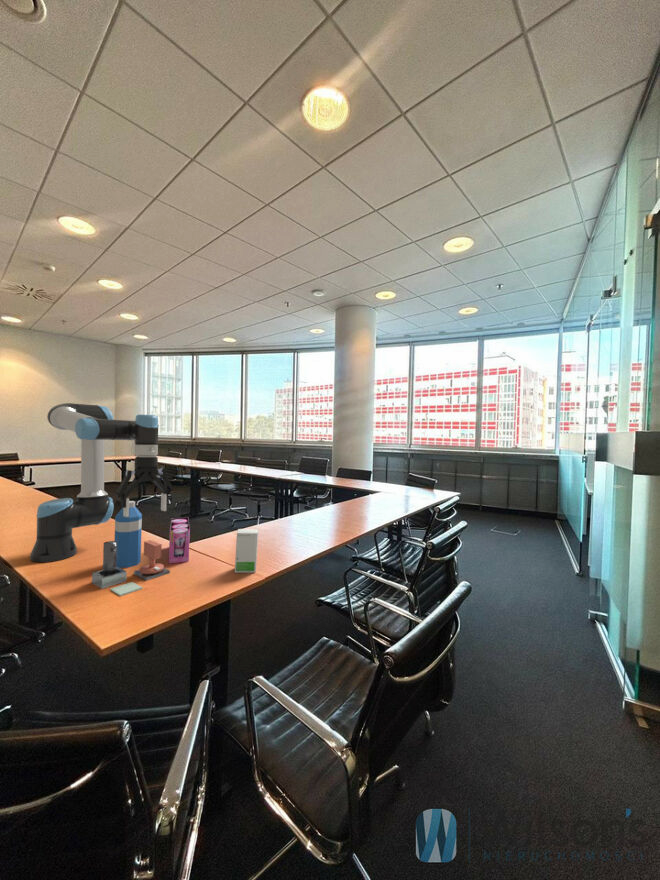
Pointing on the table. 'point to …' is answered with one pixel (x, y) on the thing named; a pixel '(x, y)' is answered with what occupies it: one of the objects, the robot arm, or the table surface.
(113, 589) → the mat
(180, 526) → the gum box
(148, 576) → the wheel base
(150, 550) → the pink block-head stand
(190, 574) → the table surface
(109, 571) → the hook peg
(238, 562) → the skincare box
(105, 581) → the block
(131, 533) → the water bottle
